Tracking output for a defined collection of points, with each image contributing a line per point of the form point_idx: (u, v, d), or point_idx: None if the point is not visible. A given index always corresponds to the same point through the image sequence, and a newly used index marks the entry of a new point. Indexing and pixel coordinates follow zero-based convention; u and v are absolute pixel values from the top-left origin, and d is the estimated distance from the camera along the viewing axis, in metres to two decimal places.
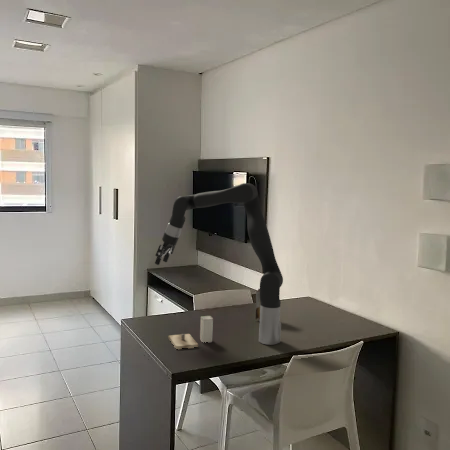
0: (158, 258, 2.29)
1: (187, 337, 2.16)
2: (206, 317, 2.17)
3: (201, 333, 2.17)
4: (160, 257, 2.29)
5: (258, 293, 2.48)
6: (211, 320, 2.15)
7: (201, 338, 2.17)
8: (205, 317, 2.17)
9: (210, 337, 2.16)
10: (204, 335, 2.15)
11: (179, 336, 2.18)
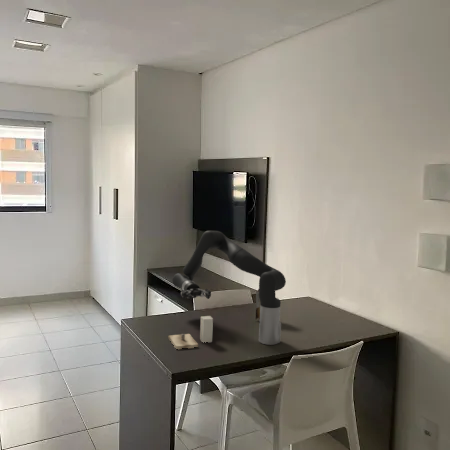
0: (187, 295, 2.27)
1: (187, 337, 2.16)
2: (206, 317, 2.17)
3: (201, 333, 2.17)
4: (187, 293, 2.28)
5: (258, 293, 2.48)
6: (211, 320, 2.15)
7: (201, 338, 2.17)
8: (205, 317, 2.17)
9: (210, 337, 2.16)
10: (204, 335, 2.15)
11: (179, 336, 2.18)
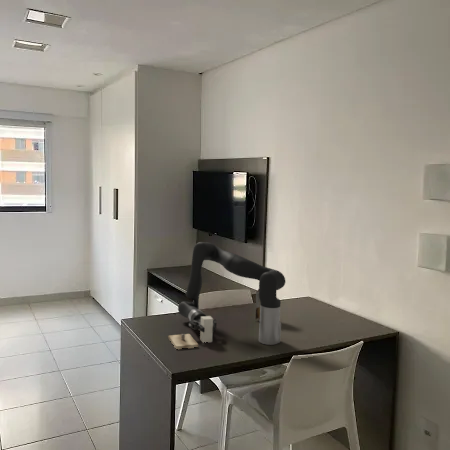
0: (199, 327, 2.16)
1: (187, 337, 2.16)
2: (206, 317, 2.17)
3: (201, 333, 2.17)
4: (198, 325, 2.16)
5: (258, 293, 2.48)
6: (211, 320, 2.15)
7: (201, 338, 2.17)
8: (205, 317, 2.17)
9: (210, 337, 2.16)
10: (204, 335, 2.15)
11: (179, 336, 2.18)
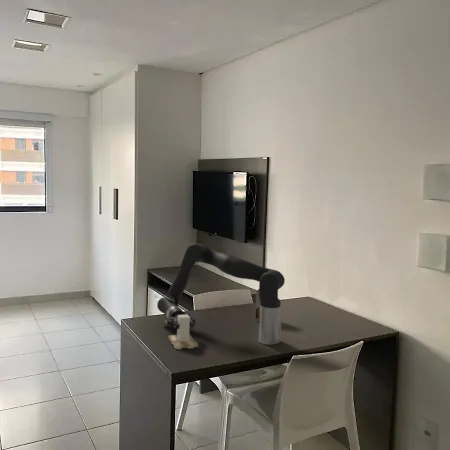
0: (174, 324, 2.12)
1: None
2: (183, 316, 2.13)
3: (178, 332, 2.13)
4: (173, 322, 2.12)
5: (258, 293, 2.48)
6: (188, 318, 2.11)
7: (178, 337, 2.13)
8: (182, 315, 2.13)
9: (187, 336, 2.12)
10: (181, 334, 2.11)
11: None
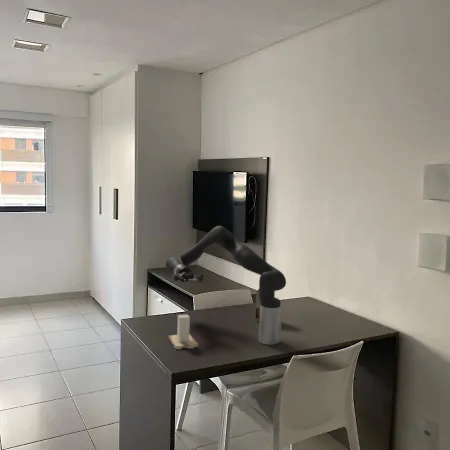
0: (179, 278, 2.26)
1: None
2: (183, 316, 2.13)
3: (178, 332, 2.13)
4: (178, 276, 2.27)
5: (258, 293, 2.48)
6: (188, 319, 2.11)
7: (178, 337, 2.13)
8: (182, 315, 2.13)
9: (187, 336, 2.12)
10: (181, 334, 2.11)
11: None
